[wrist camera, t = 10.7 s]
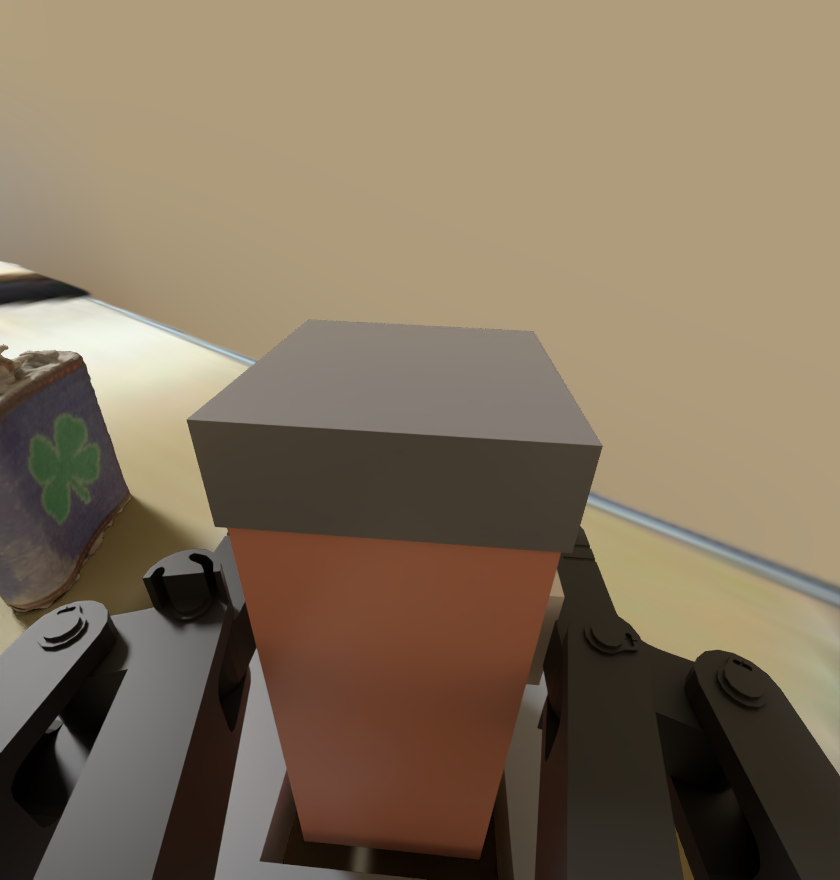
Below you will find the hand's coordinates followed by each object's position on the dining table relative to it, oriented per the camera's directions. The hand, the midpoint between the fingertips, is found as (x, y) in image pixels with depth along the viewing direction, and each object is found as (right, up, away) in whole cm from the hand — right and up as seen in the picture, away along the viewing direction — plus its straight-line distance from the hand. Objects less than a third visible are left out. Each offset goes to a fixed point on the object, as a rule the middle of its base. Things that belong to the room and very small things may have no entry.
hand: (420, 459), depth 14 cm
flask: (-18, -5, +8) cm, 21 cm away
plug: (-1, -9, -1) cm, 9 cm away
